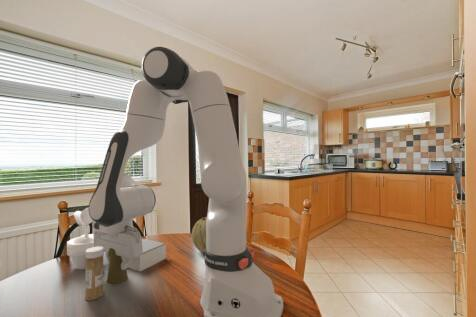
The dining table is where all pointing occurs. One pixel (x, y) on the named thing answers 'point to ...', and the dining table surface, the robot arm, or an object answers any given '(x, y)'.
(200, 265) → the dining table surface
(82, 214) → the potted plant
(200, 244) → the cantaloupe
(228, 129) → the robot arm
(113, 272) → the brown tapered cylinder
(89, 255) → the sprinkles bottle
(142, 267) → the white lidded box
